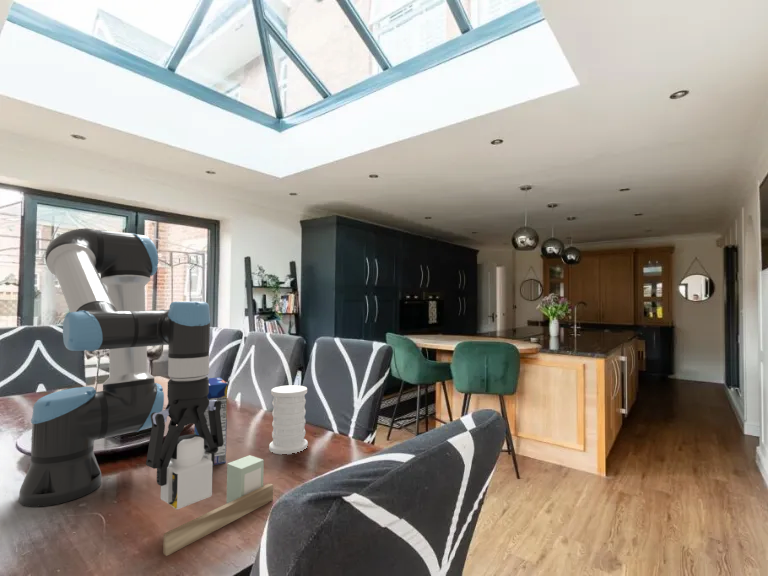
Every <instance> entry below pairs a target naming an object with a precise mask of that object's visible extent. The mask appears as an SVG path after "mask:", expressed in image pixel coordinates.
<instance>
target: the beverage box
mask: <svg viewBox="0 0 768 576" xmlns="http://www.w3.org/2000/svg"><path fill="white" fill-rule="evenodd" d="M208 378H209V393H208V395H207V397H208V399H209V400H212V399H214V400H218V401H221V403H222V404H221V409H220V416H221V425H222V433H223V442H224V443H223V446H221V447H220V446H219V447H218V451H217V453H215V455H214V466H216V465H221V464H226V463H227V425H228V420H227V419H228V417H227V416H228V383H227V381H225V380H224V379H223V378H222V377H220V376H219V377H208ZM204 415H205V418H206V420H207V426H208V429H209V431H210V423H209V414H208V408H207V409H206V411H205V412H204ZM193 434H196V435H199V434H198V432H197V429H196V427H195V425H194V432H193ZM210 434H211V431H210ZM204 451H205V449H204Z"/></svg>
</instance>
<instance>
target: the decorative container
mask: <svg viewBox="0 0 768 576" xmlns="http://www.w3.org/2000/svg"><path fill="white" fill-rule="evenodd" d="M307 393H308V388H307V386H303V385H299V384H298V385H296V384H294V385H293V384H289V385H281V386H275V387H273V388H272V389H271V393H270V394H271V396H273V400H272V402H271V403H272V407H273V410H272V412H271V414H272V417H273V420H272V423H271V426H272V431H271V437H272V441H271V442H270V443H269V445H268V447H269V449H268V450H269V452H271V453H272V452H273V453H272V454H276V455H282V454H287V455H293V454H292V453H295V454H298V453H297V452H299V453H301V452H300V451H302V452H304V451H305V450H304V449H306V448H307V449H308V447H307V446H309V442H308V440H307V439H306V438H305V436H306V433H307V432H306V429H305V425H306V423H307V422H306V421H307V420H306V417H305V416H306V408H305V405H306V402H307V399H306V396H305V395H306V394H307ZM307 449H306V450H307ZM303 450H304V451H303Z"/></svg>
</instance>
